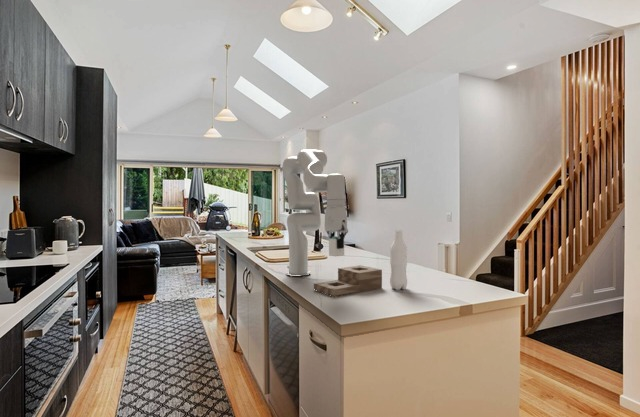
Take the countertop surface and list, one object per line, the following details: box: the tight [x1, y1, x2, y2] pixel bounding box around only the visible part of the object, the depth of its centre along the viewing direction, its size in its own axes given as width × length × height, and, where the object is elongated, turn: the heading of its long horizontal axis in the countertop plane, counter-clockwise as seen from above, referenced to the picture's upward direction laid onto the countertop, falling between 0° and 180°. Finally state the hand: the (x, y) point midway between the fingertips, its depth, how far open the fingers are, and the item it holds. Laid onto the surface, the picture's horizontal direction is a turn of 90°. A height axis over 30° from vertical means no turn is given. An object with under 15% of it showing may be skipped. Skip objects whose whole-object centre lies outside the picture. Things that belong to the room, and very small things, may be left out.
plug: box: [328, 235, 345, 257], centre depth 160 cm, size 4×4×8 cm
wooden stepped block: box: [313, 264, 383, 298], centre depth 165 cm, size 14×26×8 cm, turn 125°
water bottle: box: [389, 229, 408, 291], centre depth 165 cm, size 7×7×25 cm
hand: (336, 247), depth 160 cm, fingers closed on plug, 4 cm apart
